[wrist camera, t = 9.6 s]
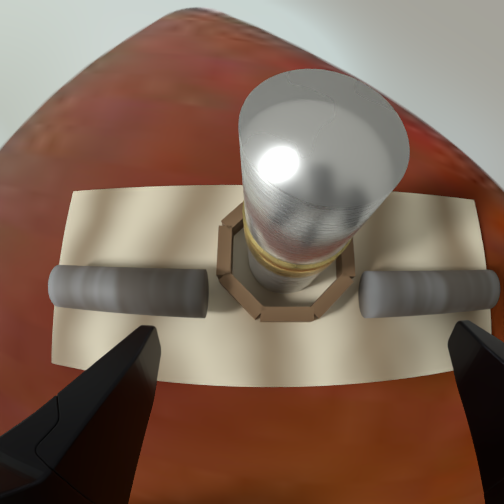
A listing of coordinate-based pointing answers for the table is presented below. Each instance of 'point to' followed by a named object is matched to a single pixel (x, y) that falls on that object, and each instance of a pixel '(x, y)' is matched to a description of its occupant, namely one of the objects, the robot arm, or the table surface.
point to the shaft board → (266, 290)
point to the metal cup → (313, 170)
